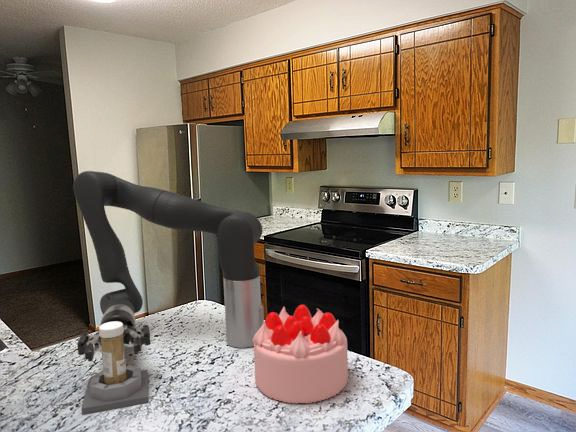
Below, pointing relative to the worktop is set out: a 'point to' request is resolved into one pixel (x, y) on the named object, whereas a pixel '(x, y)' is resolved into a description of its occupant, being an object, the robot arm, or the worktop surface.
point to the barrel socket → (116, 391)
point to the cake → (300, 356)
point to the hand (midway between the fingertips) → (113, 353)
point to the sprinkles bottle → (113, 352)
